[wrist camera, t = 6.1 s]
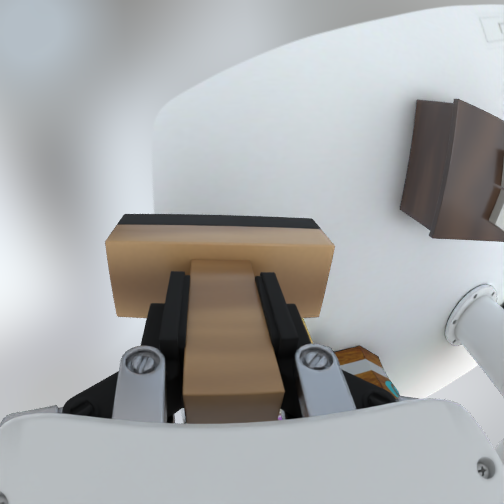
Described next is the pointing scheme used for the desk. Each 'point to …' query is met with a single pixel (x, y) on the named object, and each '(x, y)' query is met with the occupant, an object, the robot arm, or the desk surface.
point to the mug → (365, 367)
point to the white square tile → (498, 212)
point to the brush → (221, 299)
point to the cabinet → (455, 170)
